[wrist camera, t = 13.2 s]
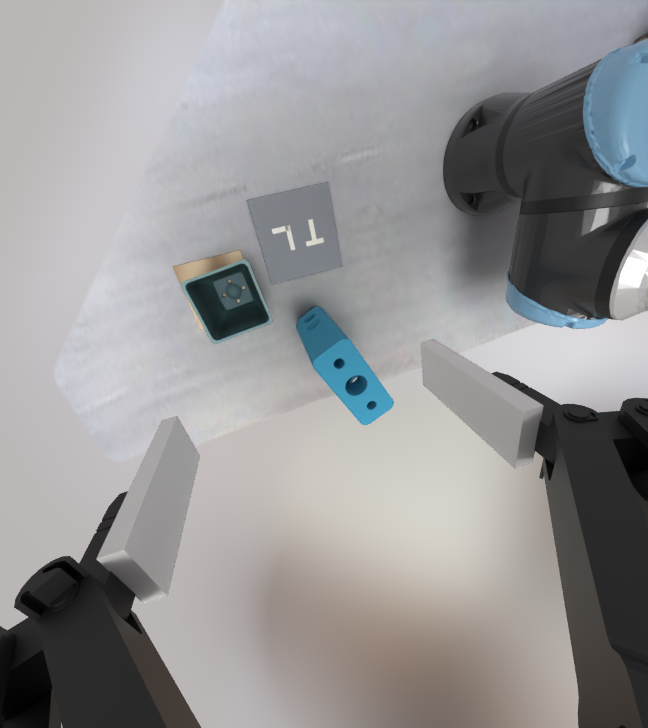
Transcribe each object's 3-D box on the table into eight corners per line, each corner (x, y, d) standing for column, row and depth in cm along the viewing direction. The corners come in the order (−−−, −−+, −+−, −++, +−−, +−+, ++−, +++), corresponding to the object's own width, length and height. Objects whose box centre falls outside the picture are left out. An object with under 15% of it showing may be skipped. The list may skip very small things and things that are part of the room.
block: (288, 314, 48) (309, 363, 31) (312, 296, 48) (346, 335, 30) (327, 362, 54) (364, 427, 36) (348, 346, 53) (396, 404, 36)
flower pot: (191, 272, 42) (177, 283, 34) (248, 252, 43) (247, 257, 35) (219, 325, 46) (213, 345, 38) (270, 306, 47) (274, 322, 39)
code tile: (327, 182, 41) (328, 181, 41) (342, 266, 47) (342, 266, 47) (246, 200, 40) (246, 200, 40) (271, 284, 46) (271, 284, 45)
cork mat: (240, 250, 43) (240, 250, 42) (261, 313, 47) (261, 313, 47) (173, 266, 41) (172, 266, 41) (200, 329, 46) (200, 330, 46)
